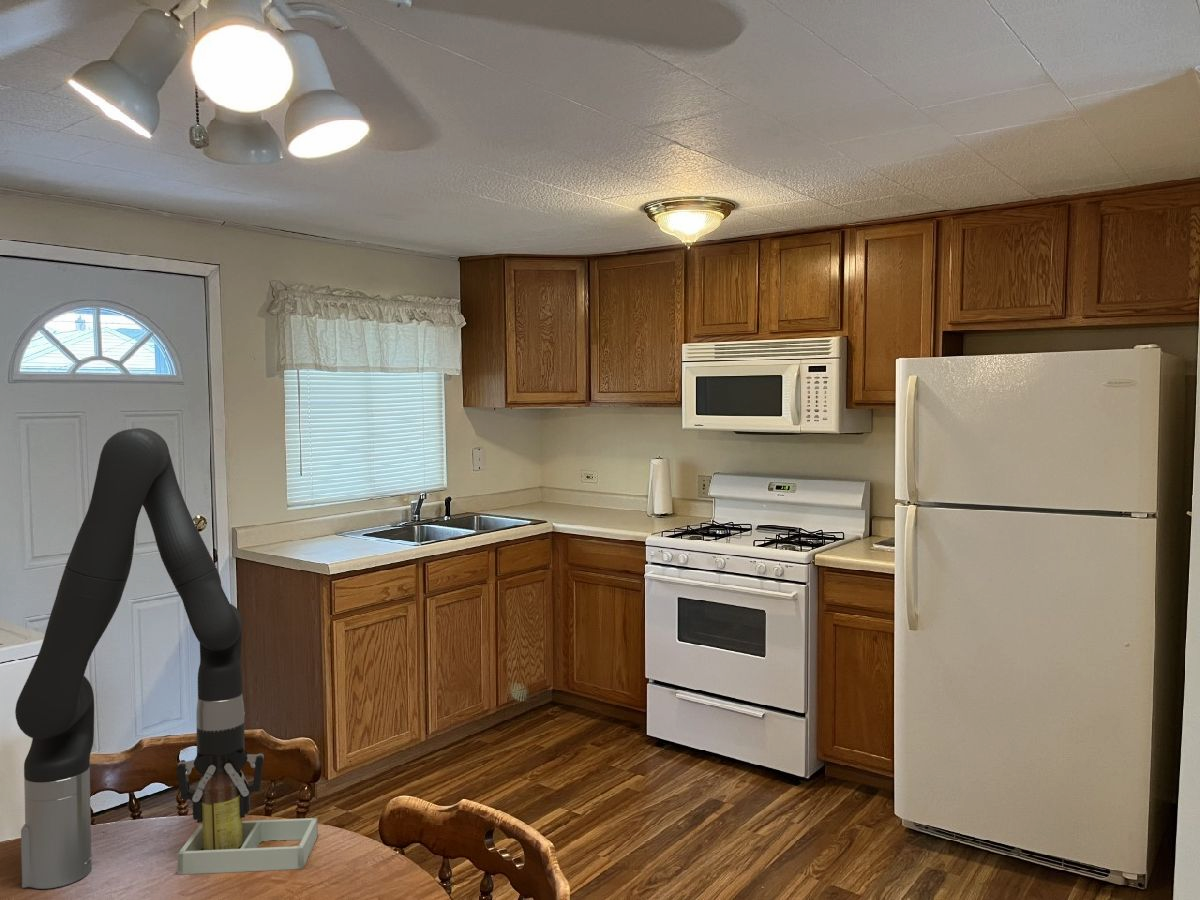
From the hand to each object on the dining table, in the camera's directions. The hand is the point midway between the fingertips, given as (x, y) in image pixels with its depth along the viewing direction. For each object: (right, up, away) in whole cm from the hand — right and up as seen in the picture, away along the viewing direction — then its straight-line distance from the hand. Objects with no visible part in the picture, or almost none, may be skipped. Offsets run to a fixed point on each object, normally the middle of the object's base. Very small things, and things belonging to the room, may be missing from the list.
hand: (221, 818), depth 155 cm
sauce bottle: (0, -7, 0) cm, 7 cm away
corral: (+5, -7, +1) cm, 8 cm away
